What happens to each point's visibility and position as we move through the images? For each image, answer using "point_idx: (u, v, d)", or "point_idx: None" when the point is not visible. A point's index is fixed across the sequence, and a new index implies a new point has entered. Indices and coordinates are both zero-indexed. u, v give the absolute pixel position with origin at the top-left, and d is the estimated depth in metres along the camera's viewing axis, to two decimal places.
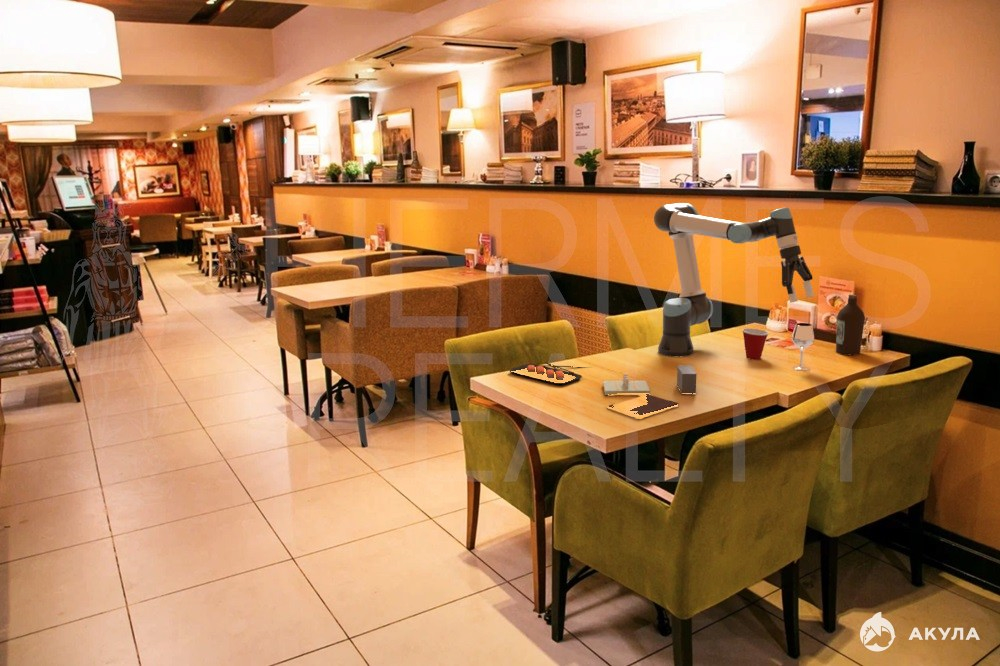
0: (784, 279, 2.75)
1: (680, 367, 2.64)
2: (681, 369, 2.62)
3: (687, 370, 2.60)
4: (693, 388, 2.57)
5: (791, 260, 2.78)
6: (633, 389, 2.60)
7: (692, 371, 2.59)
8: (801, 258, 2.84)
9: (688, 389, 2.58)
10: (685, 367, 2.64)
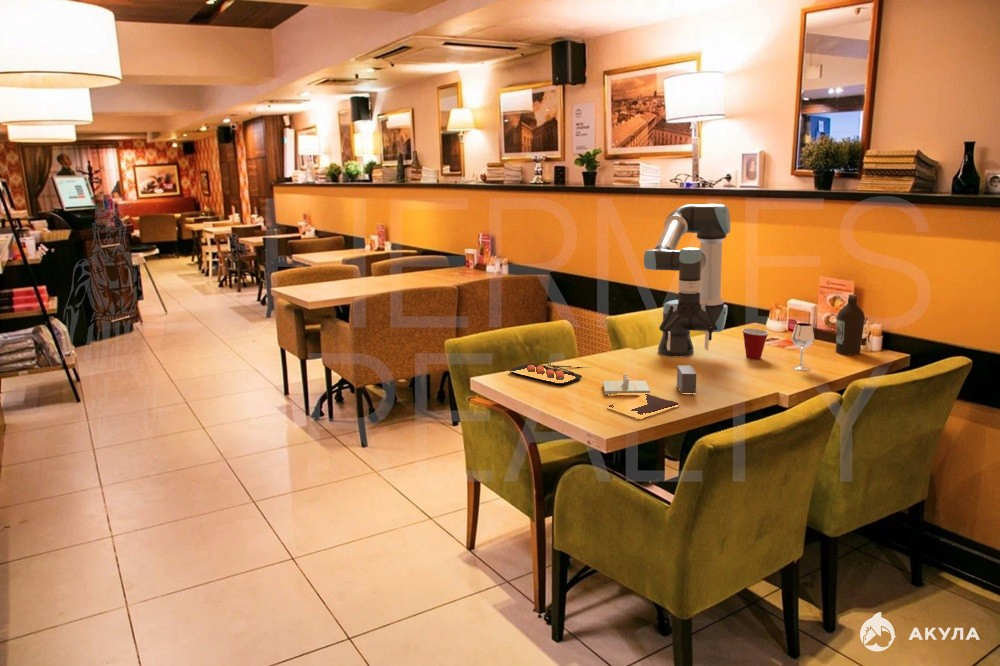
0: (661, 324, 2.58)
1: (680, 367, 2.64)
2: (681, 369, 2.62)
3: (687, 370, 2.60)
4: (693, 388, 2.57)
5: (681, 307, 2.55)
6: (633, 389, 2.60)
7: (692, 371, 2.59)
8: (705, 307, 2.55)
9: (688, 389, 2.58)
10: (685, 367, 2.64)
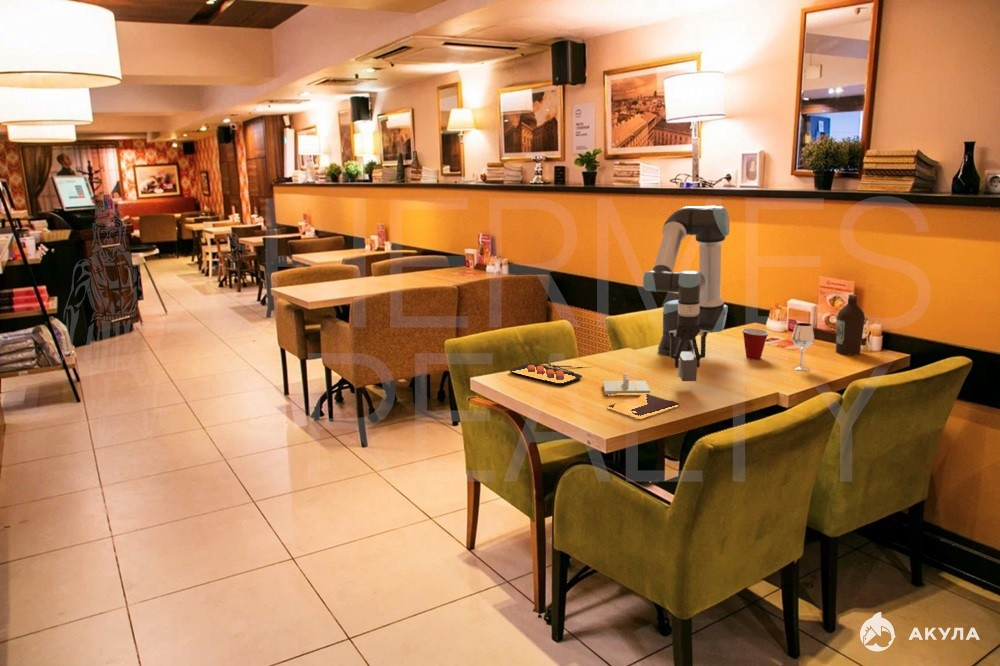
0: (670, 352, 2.61)
1: (681, 353, 2.63)
2: (682, 355, 2.61)
3: (687, 356, 2.59)
4: (694, 374, 2.57)
5: (680, 329, 2.57)
6: (633, 389, 2.60)
7: (693, 358, 2.58)
8: (704, 332, 2.57)
9: (688, 376, 2.57)
10: (686, 353, 2.63)
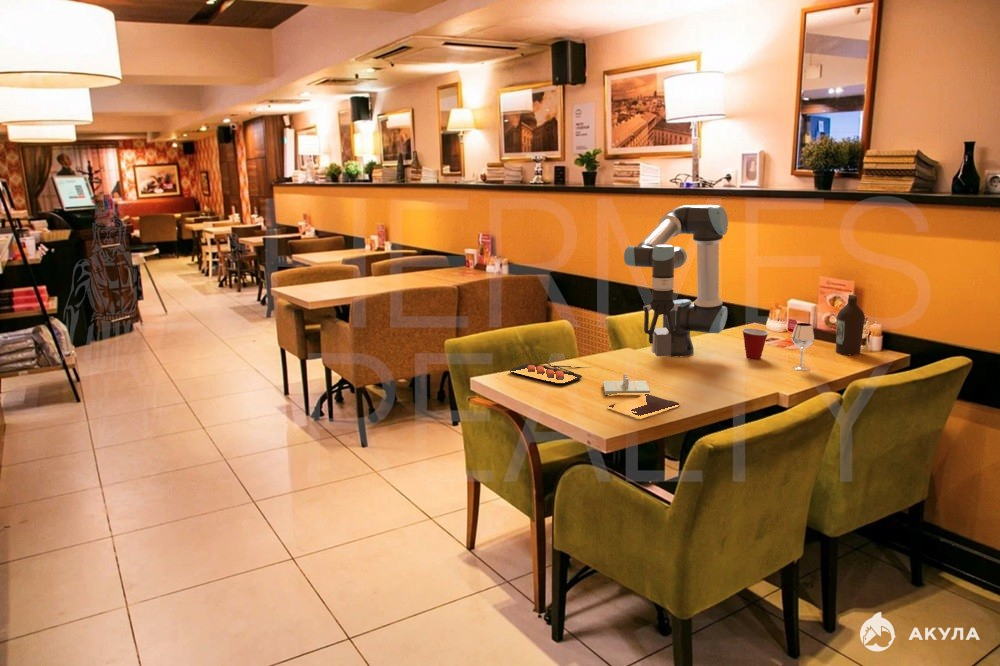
0: (644, 327, 2.59)
1: (655, 329, 2.61)
2: (656, 331, 2.59)
3: (662, 331, 2.57)
4: (668, 349, 2.55)
5: (654, 304, 2.55)
6: (633, 389, 2.60)
7: (667, 332, 2.56)
8: (678, 307, 2.55)
9: (663, 350, 2.55)
10: (660, 329, 2.61)
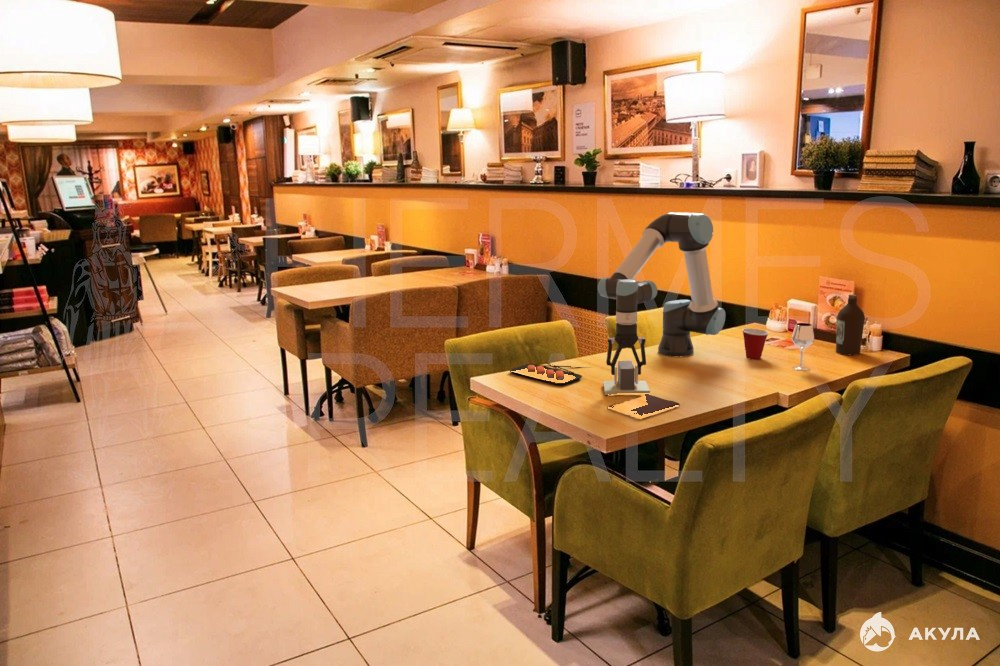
0: None
1: (620, 362, 2.66)
2: (621, 364, 2.63)
3: (626, 365, 2.61)
4: (632, 383, 2.59)
5: (618, 337, 2.59)
6: None
7: (631, 366, 2.60)
8: (642, 340, 2.59)
9: (626, 384, 2.59)
10: (625, 362, 2.65)
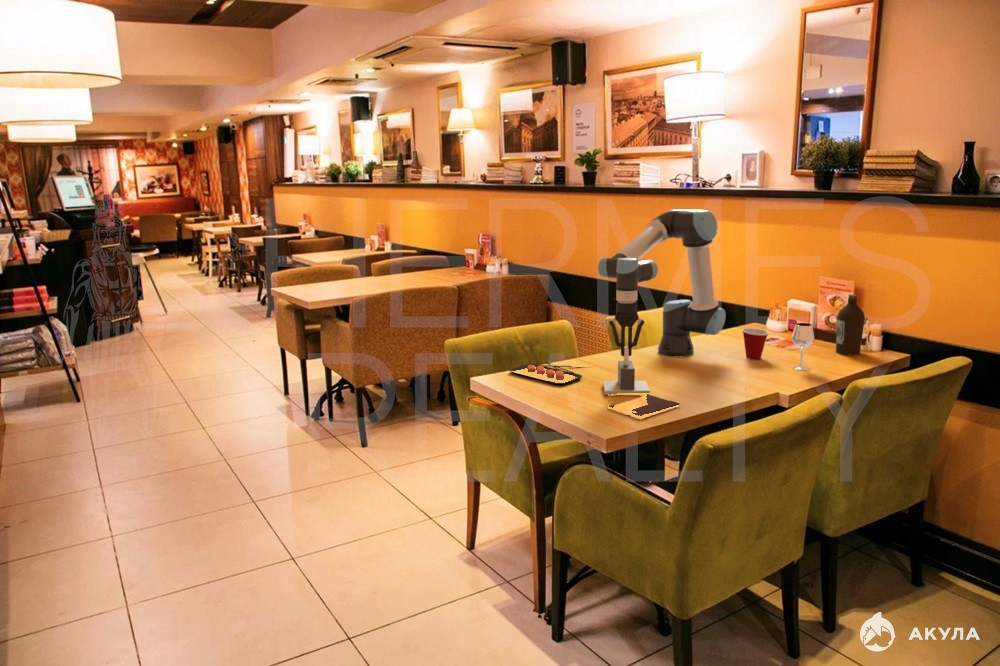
0: (615, 340, 2.61)
1: (620, 362, 2.66)
2: (621, 364, 2.63)
3: (626, 365, 2.61)
4: (632, 383, 2.59)
5: (618, 316, 2.57)
6: None
7: (631, 366, 2.60)
8: (641, 321, 2.57)
9: (626, 384, 2.59)
10: None
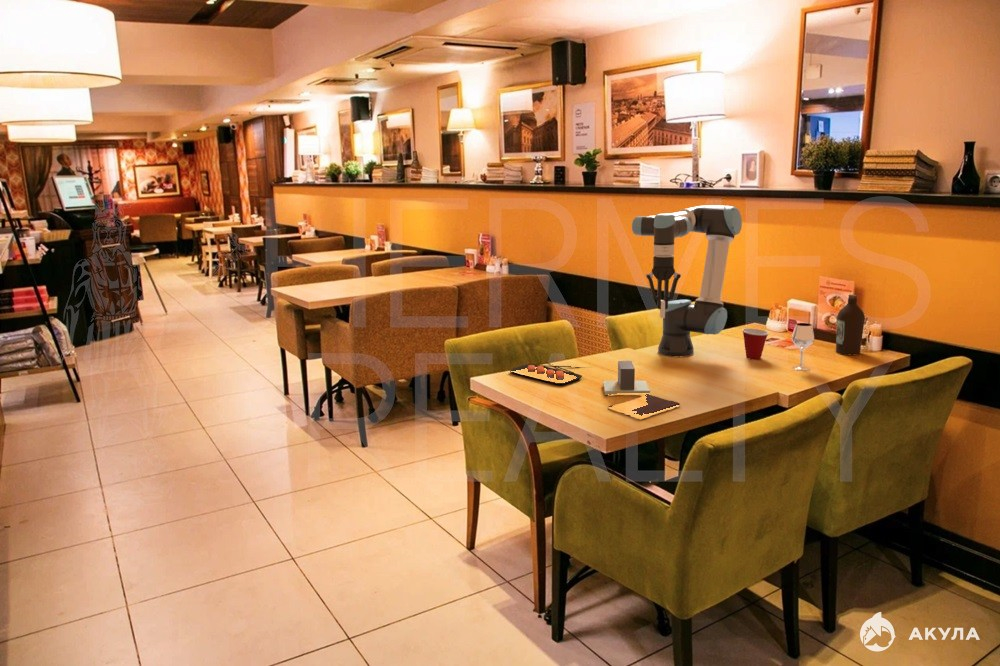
0: (652, 294, 2.71)
1: (620, 362, 2.66)
2: (621, 364, 2.63)
3: (626, 365, 2.61)
4: (632, 383, 2.59)
5: (655, 270, 2.68)
6: None
7: (631, 366, 2.60)
8: (677, 275, 2.68)
9: (626, 384, 2.59)
10: (625, 362, 2.65)
